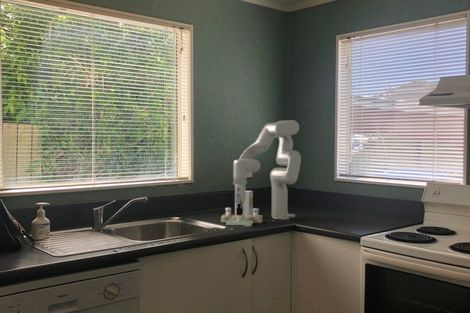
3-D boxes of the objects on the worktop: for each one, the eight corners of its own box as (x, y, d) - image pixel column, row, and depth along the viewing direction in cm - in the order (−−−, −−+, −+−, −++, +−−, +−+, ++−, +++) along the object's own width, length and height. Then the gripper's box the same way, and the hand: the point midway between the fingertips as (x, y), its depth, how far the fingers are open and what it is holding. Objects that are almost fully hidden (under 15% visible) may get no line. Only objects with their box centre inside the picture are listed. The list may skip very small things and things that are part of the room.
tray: (253, 224, 269) (253, 220, 269) (251, 227, 260) (251, 223, 260) (228, 223, 271) (228, 220, 271) (226, 226, 262) (226, 222, 262)
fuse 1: (231, 221, 277) (231, 207, 277) (230, 222, 274) (230, 208, 274) (225, 221, 278) (225, 207, 277) (225, 222, 274) (225, 208, 274)
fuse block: (262, 222, 277) (262, 215, 277) (261, 224, 269) (261, 217, 269) (223, 221, 280) (223, 214, 280) (221, 223, 272) (221, 216, 272)
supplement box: (249, 219, 286) (249, 192, 286) (234, 219, 289) (234, 191, 288) (253, 217, 296) (253, 190, 295) (238, 216, 298) (238, 190, 298)
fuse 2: (258, 222, 275) (258, 208, 275) (258, 222, 272) (258, 209, 272) (253, 221, 275) (253, 208, 275) (252, 222, 272) (252, 208, 272)
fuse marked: (242, 221, 267) (243, 207, 266) (242, 222, 263) (242, 208, 263) (237, 221, 267) (237, 207, 267) (236, 222, 264) (236, 207, 264)
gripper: (244, 182, 256) (244, 216, 256) (248, 180, 272) (248, 212, 273) (231, 182, 257) (231, 216, 258) (235, 180, 273) (235, 212, 274)
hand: (239, 214), depth 265 cm, fingers closed on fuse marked, 3 cm apart
